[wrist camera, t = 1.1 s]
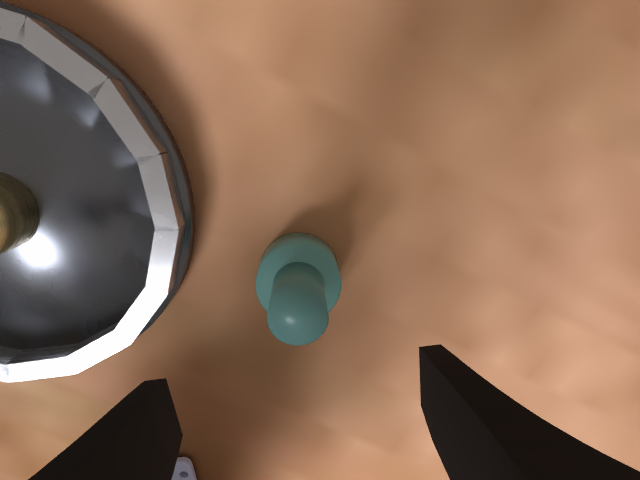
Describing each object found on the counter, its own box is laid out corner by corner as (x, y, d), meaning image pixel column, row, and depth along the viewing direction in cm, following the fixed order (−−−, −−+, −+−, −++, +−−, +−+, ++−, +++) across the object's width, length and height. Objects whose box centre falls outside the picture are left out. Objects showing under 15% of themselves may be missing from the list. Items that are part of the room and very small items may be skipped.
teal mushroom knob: (340, 299, 20) (352, 355, 15) (266, 308, 20) (255, 368, 15) (333, 228, 19) (344, 265, 14) (253, 237, 19) (237, 278, 14)
